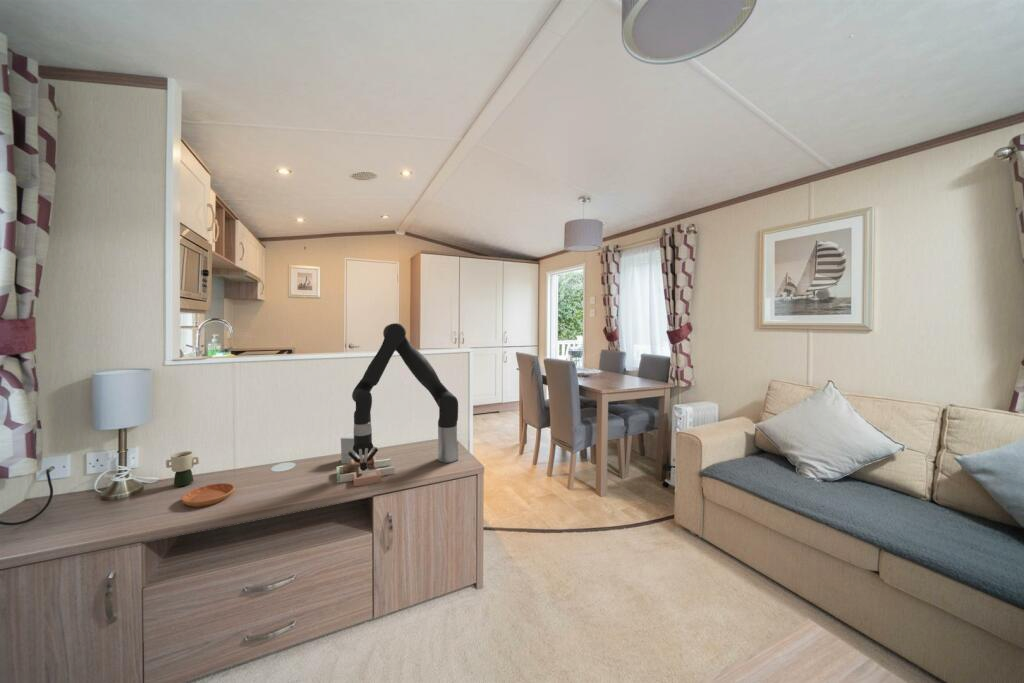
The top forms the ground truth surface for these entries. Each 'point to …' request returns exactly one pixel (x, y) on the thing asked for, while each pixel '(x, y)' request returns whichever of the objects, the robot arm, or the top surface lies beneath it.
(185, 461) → the character mug
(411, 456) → the top surface
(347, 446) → the supplement box
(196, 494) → the saucer
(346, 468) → the walnut block
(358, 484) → the corral
